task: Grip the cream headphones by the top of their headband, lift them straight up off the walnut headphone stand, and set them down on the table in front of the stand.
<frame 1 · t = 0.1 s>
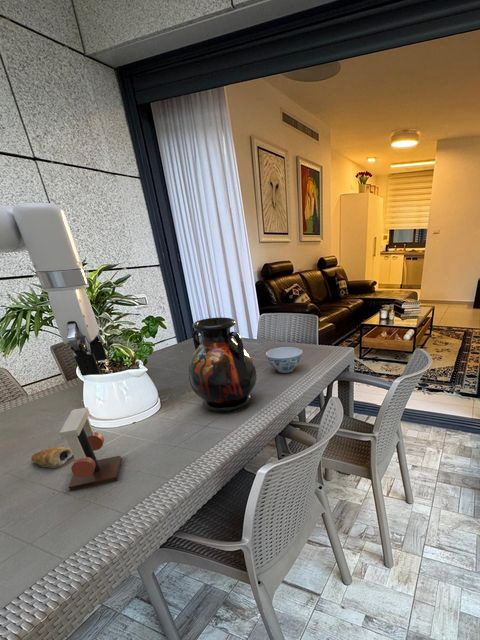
hand: (95, 366, 75), 28 cm above the table, tool pointing down, fingers open, 9 cm apart
chinaware: (285, 370, 149), on the table
amphora vase: (228, 404, 121), on the table
headphones: (92, 460, 86), point 4 cm above the table, touching headphone stand
pastry: (54, 462, 94), on the table
headphone stand: (97, 474, 88), on the table
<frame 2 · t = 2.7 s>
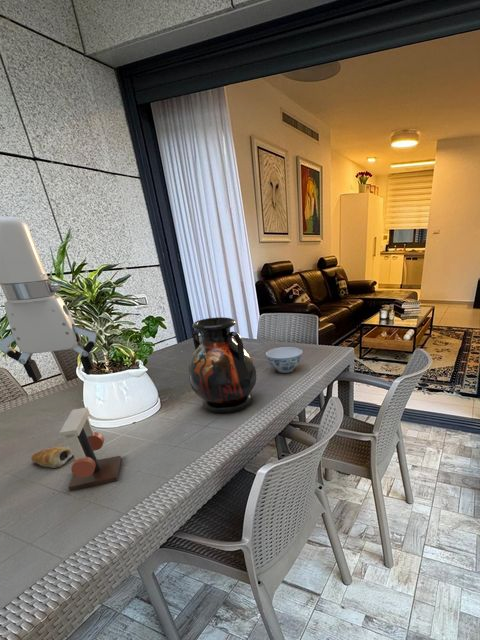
hand: (64, 376, 75), 26 cm above the table, tool pointing down, fingers open, 9 cm apart
nothing on the table moved.
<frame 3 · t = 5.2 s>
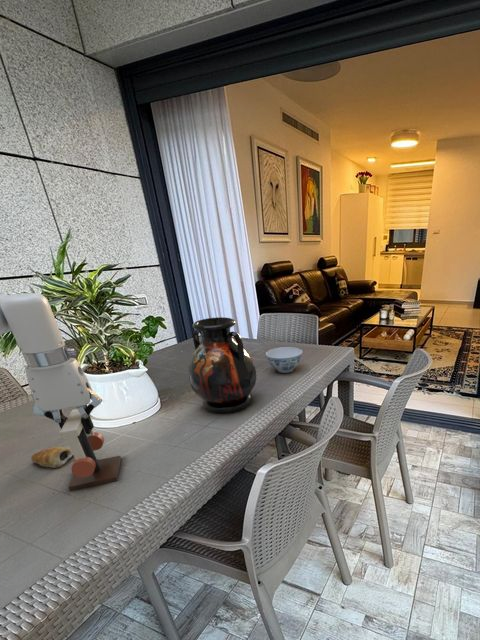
hand: (79, 432, 82), 12 cm above the table, tool pointing down, fingers closed on headphones, 3 cm apart
headphones: (92, 460, 86), point 4 cm above the table, touching gripper, headphone stand
everything else where it was.
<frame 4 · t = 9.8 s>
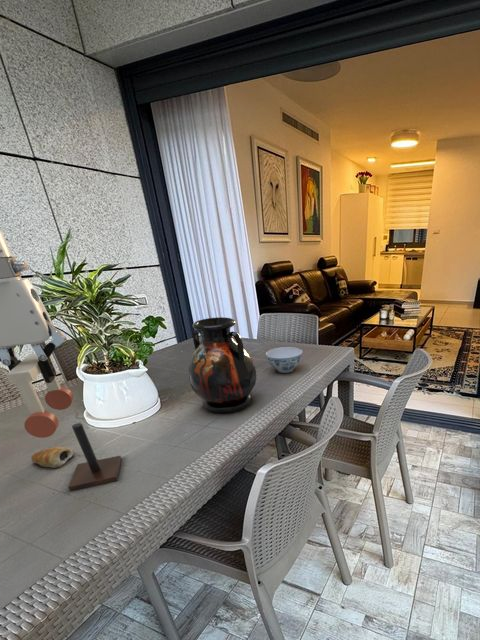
hand: (38, 381, 63), 29 cm above the table, tool pointing down, fingers closed on headphones, 3 cm apart
headphones: (56, 420, 67), point 21 cm above the table, touching gripper
everything else where it was.
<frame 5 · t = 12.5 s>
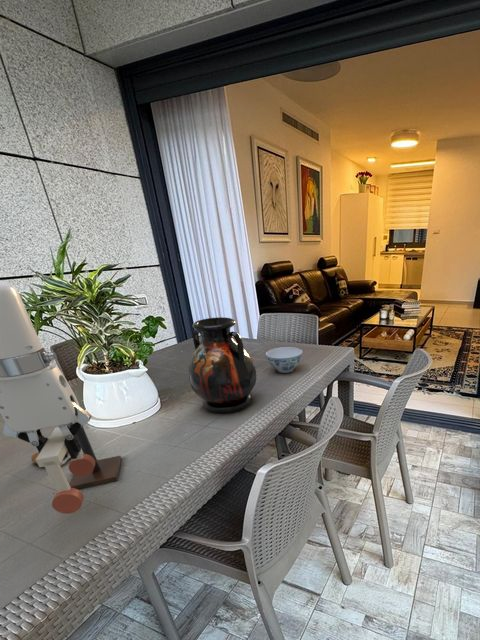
hand: (64, 456, 66), 16 cm above the table, tool pointing down, fingers closed on headphones, 3 cm apart
headphones: (80, 490, 70), point 8 cm above the table, touching gripper
everything else where it was.
when the fingers open (8 cm above the table, at t = 14.6 s): headphones stays where it is, on the table.
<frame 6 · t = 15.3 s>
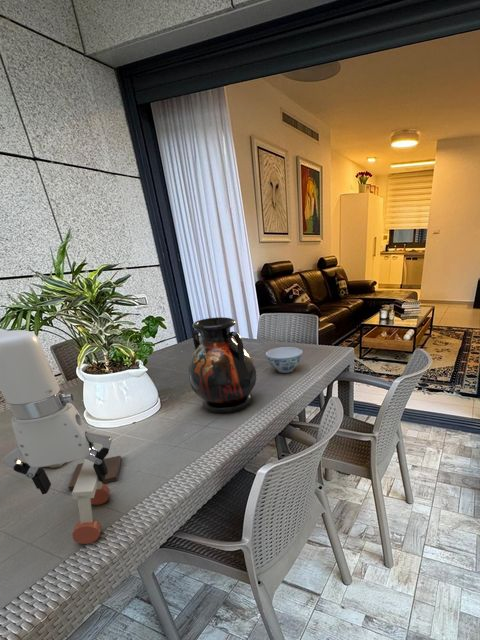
hand: (75, 483, 69), 10 cm above the table, tool pointing down, fingers open, 9 cm apart
headphones: (93, 519, 73), on the table, tilted 14°
everything else where it was.
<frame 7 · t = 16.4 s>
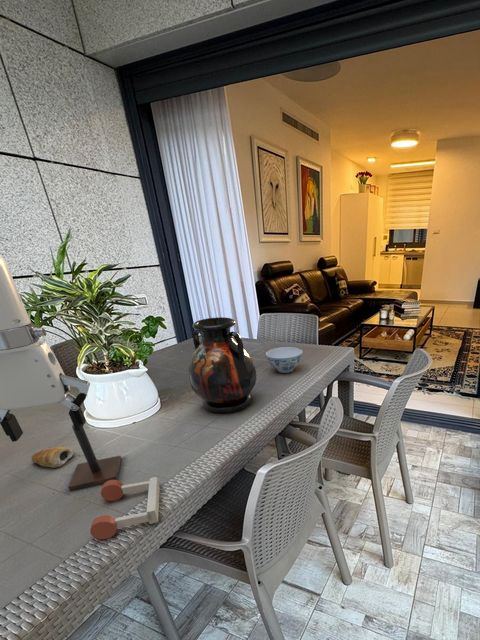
hand: (50, 432, 63), 21 cm above the table, tool pointing down, fingers open, 9 cm apart
headphones: (96, 509, 73), point 2 cm above the table, tilted 94°
everything else where it was.
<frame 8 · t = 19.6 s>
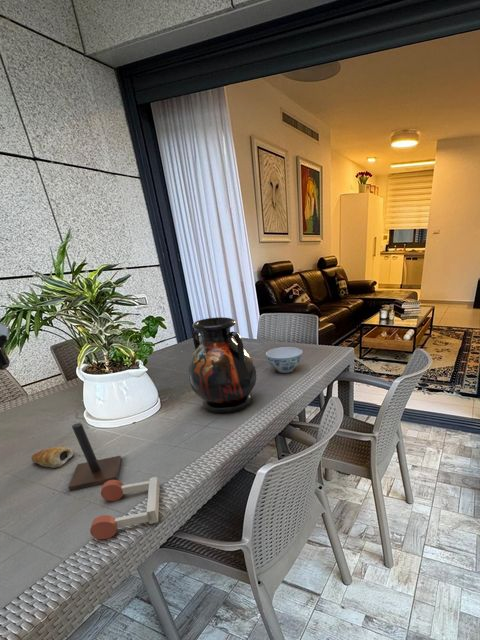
nothing on the table moved.
at the end: headphones inside the target area (1.4 cm from its centre), point 2.3 cm above the table; headphones touching table; the gripper is holding nothing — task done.
